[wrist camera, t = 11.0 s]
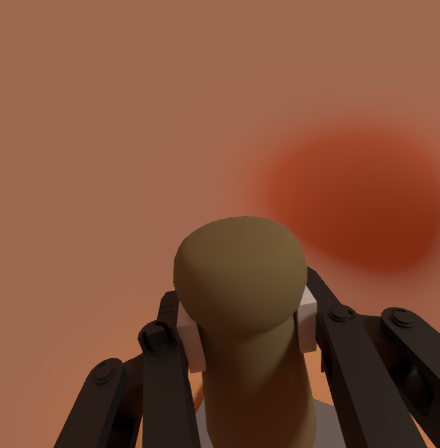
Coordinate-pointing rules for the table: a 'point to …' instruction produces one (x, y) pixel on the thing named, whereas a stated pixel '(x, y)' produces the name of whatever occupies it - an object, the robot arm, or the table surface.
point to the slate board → (325, 432)
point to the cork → (249, 331)
